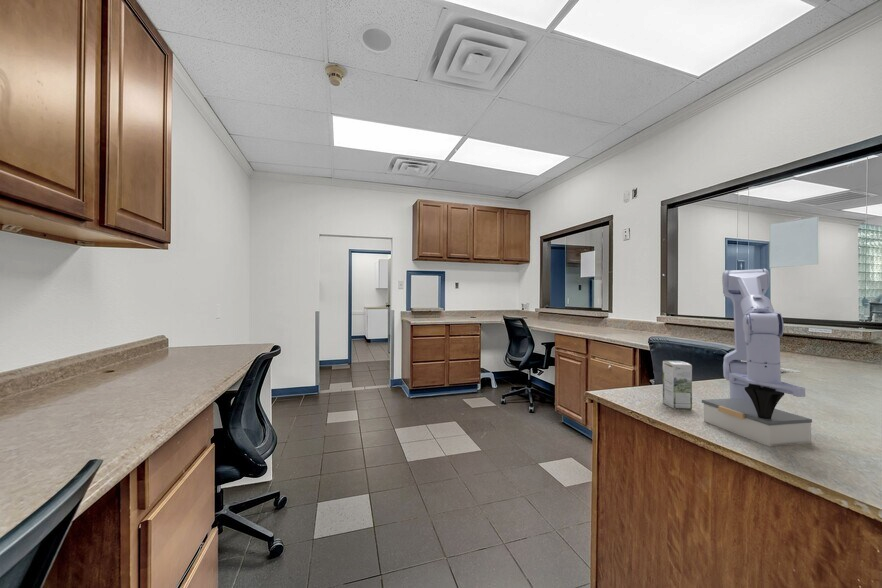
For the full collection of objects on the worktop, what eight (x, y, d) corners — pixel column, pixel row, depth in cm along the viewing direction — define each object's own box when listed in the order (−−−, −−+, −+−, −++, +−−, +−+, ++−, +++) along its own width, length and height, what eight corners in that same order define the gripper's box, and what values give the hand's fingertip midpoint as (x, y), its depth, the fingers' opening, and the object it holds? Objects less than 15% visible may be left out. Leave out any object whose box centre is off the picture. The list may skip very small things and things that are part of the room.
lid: (738, 402, 92) (738, 398, 92) (812, 425, 75) (811, 419, 76) (699, 404, 90) (699, 399, 90) (766, 427, 74) (766, 421, 74)
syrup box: (680, 403, 105) (679, 360, 105) (693, 409, 99) (692, 363, 99) (662, 403, 105) (661, 360, 106) (673, 409, 99) (672, 363, 100)
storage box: (739, 418, 91) (739, 401, 92) (811, 443, 76) (810, 422, 76) (703, 421, 90) (703, 403, 90) (769, 446, 74) (769, 425, 74)
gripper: (718, 357, 83) (720, 408, 83) (786, 368, 69) (787, 431, 68) (741, 356, 84) (742, 407, 84) (812, 367, 70) (814, 429, 69)
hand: (764, 417), depth 76 cm, fingers closed
